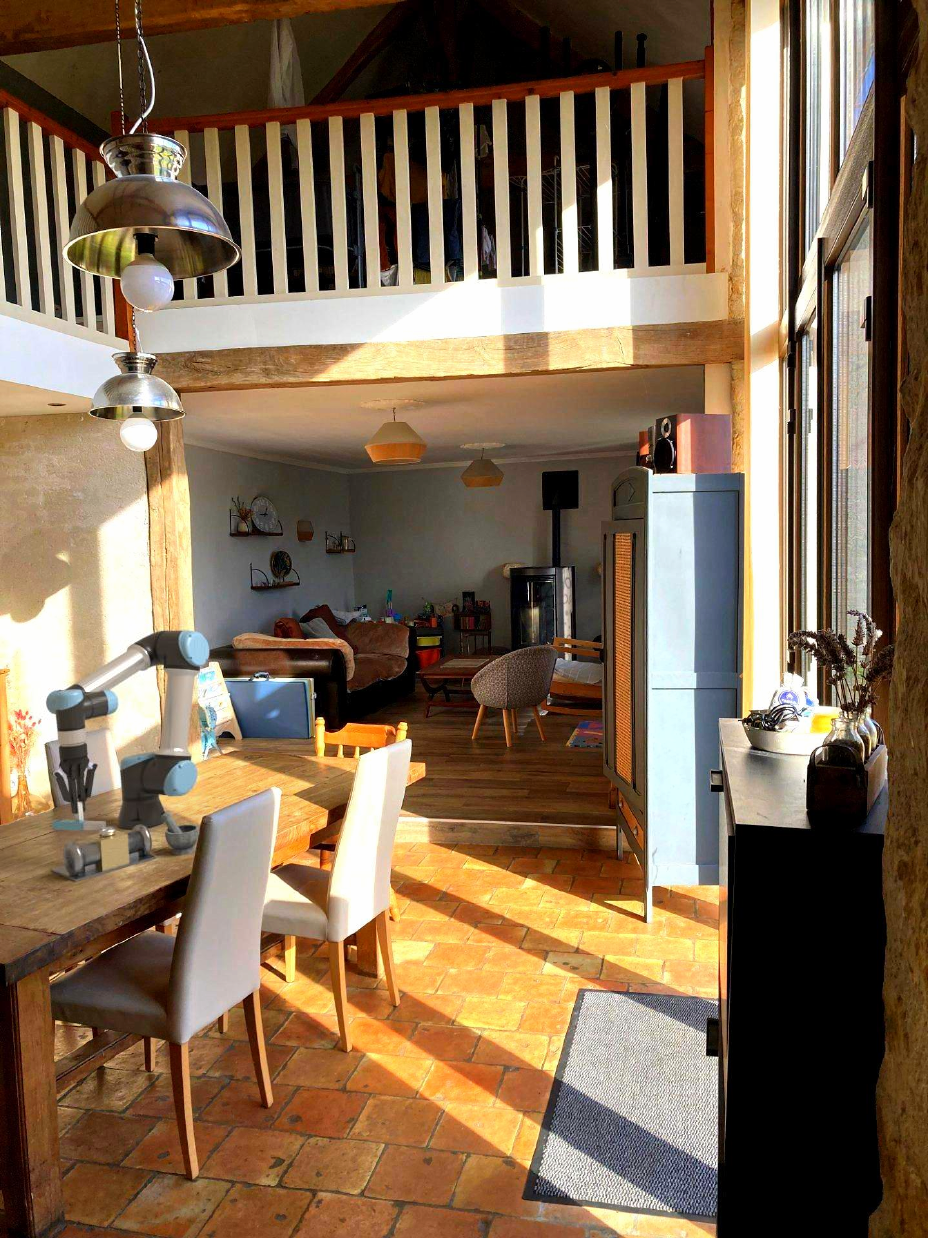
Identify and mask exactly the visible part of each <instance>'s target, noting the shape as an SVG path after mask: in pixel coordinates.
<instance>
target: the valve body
mask: <svg viewBox="0 0 928 1238" xmlns="http://www.w3.org/2000/svg"><path fill="white" fill-rule="evenodd" d="M115 831H116V834H114V835H112V836H106V837H102V836H99V832H98V833H93V834H90V835H87V838H86V839H87V843H85V844H81V845H79V844H78V843H77V842H76V841H70V842H67V843H65V845H64V847H63V849H62V859H63V864H64V865H60V866H56V867H51V868H50V870H51V872H53V873H54V874H58V875H59V876H63V877H64V878H66V879H69V880H71V881H73V882H80V881H82V880H86V879H91V878H94V877H97V876H100V875H103V874H106V873H111V872H113V871H117V870H121V869H124V868H128V867H132V866H135V865H137V864H142V863H145V862H147V861H153V860H155V859H156V858H157V856H156V855H153V854H150V853H151V851H152V848H153V847H152V845H153V840H152V836H151V835H152V834H151V833H150V830H149V827H148V828H147V827H146V826H145V825H143V824H140V825H136V826H134V828H133V829H131V831H130V832H127V833H126V832H124V831H121V830H117V829H115Z"/></svg>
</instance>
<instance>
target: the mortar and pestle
mask: <svg viewBox="0 0 928 1238" xmlns="http://www.w3.org/2000/svg"><path fill="white" fill-rule="evenodd" d="M161 818H162V819H163V820H164V823H165V825H166V827H167V828H166V830H164V834H165V835H164V837H165V840H166V843H167V844H168V846H169V847H171V848H172V854H173V855H175V856H183V855H190V854H192V853H194V851H195V845H196V844H197V841H198V838H199V837H198V835H199V836H200V826H198V825H195V824H180V825H179V824H177V822H176V821H175V819H174V818H173V817H172V815H171V812H170V811H167V812H166V811H165V813H164V814H163V815H162V816H161Z"/></svg>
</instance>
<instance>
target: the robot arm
mask: <svg viewBox="0 0 928 1238" xmlns="http://www.w3.org/2000/svg"><path fill="white" fill-rule="evenodd" d="M209 657H210V647H209V643H208V640H207V639H206V637H205V636H204V635H203V634H202V633H201V632H199V631H195V630H184V629H183V630H158V631H155V632H152V633H150V634H148V635H146V636H144V637H142V638H141V639H139V640H137V641H135V642H134V643H131V645H129V646H127V648H126V651H125V652H123V653H122V654H120V655H119V656H117V657H115V658H114V659H112V660H111V661H109V662H108V663H106V664H104V665H103V666H101V667H99V668H98V669H96V670H95V671H93V672H92V673H90V674H88V675H86V676H85V677H82V678H81V679H80V680H78V681H77V682H76V683H74V684H72V685H70V686H68V687H67V688H65V689H57V690H53V691H51V692H50V693H49V694H48V695H47V697H46V700H45V701H46V702H45V705H46V708H47V710H48V712H49V713H50V714H53V715H55V718H56V719H55V722H56V729H57V743H58V745H59V746H58V754H59V755H58V756H59V760H60V761H59V765H58V768H57V769H56V770H53V771H52V772H51V775H52V777H53V778H55V781H56V783H57V785H58V786H57V787H58V789H59V791H60V794H61V796H62V800H63V801H64V802H66V803H69V804H70V806H71V807H70V808H71V809H70V811H71V813H72V814H73V815H74V820H85V819H84V812H86V809H87V808H86V801H87V799H89V798H91V797H92V793H93V785H94V779H95V772H96V770H97V768H98V766H99V765H98V763H96V762H95V763H94V762H92V761H90V758H89V757H88V754H89V753H88V743H86V742H87V732H86V721H88V720H92V719H96V718H100V717H107V716H108V715H109V716H110V715H112V714H114V713H115V712H116V711H117V710H118V708H119V698H118V695H117V694H116V693H115V692H114V691H112V689H113V688H115V687H116V686H118V685H119V684H121V683H122V682H124V681H125V680H128V679H129V678H130V677H132V676H133V675H135V674H137V673H138V672H141V671H143V672H144V671H147V670H149V669H150V668H153V667H157V666H158V667H159V666H163V672H164V673H165V674H166V676H167V678H166V687H165V689H166V690H165V698H164V707H163V718H162V725H161V726H162V727H161V734H160V735H161V737H160V746H159V749H157V750H156V751H155V752H154V751H151V752H150V751H149V752H142V753H136V754H134V755H133V754H132V755H129V756H126V757H122V759H121V760H120V765H119V766H120V768H119V772H120V773H119V775H120V785H121V797H122V798H121V800H122V802H121V807H120V810H119V814H118V817H117V826H118V827H119V828H120V829H123V830H125V829H126V830H132V829H133V828H134V826H136V825H140V824H143V825H145V826H146V827H147V828H148V829H149V828H152V827H156V826H159V825H161V824H163V823H165V822H164V820H163V819H162V818H161V816H162V815H163V814H164V813H166V811H165V809H164V806H163V804H162V802H161V799H160V796H167V797H182V796H185V795H187V794H188V793H189V792H191V790H193V788H194V786H195V784H196V783H197V779H198V768H197V766H196V764H195V762H193V760H192V753H191V752H190V751H189V750H188V747H189V738H190V727H191V725H190V723H191V715H192V706H193V696H194V684H195V677H196V676H197V675H198V674H200V673H201V672H200V671H201V667H202V666H204V665H205V664H206V663H207V662H208V659H209ZM86 769H87V770H86ZM85 772H86V774H85ZM64 774H65V775H66V779H67V784H66V781H65V778H64V777H63V775H64ZM67 785H68V786H67Z"/></svg>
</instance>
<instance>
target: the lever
mask: <svg viewBox="0 0 928 1238" xmlns="http://www.w3.org/2000/svg"><path fill="white" fill-rule="evenodd" d="M51 824H52V825H51V826H52V830H54V831H81V832H82V831H98V833H99V836H102V837H106V836H112V835H114V834H116V831H115V830H116V827H115V826H107V821H106V820H105V821H103V820H88V819H84V820H75V819H67V818H65V819H64V818H62V819H61V818H58V819H54V820H52V821H51Z"/></svg>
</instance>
